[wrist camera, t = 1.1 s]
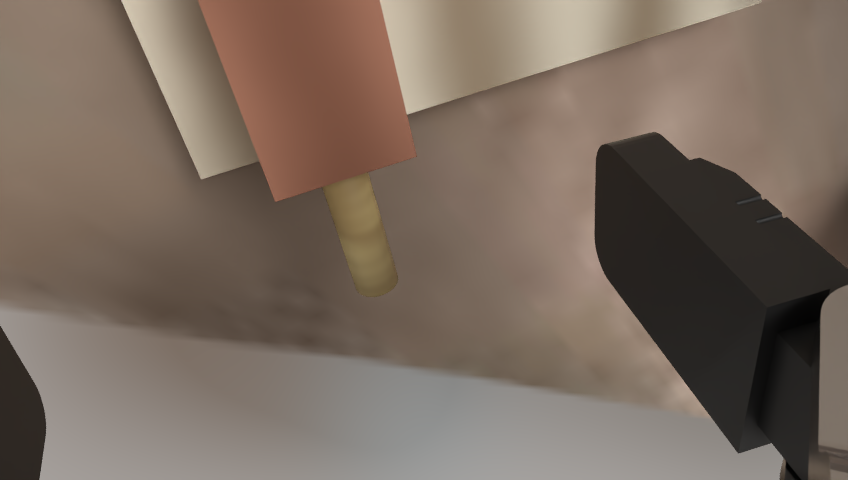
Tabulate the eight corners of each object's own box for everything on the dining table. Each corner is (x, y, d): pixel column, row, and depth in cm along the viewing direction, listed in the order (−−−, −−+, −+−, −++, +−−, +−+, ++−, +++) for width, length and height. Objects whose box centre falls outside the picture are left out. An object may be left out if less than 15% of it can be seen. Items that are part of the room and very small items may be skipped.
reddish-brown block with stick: (310, -157, 22) (353, -111, 17) (401, 191, 29) (448, 290, 25) (170, -118, 22) (174, -60, 17) (297, 225, 29) (325, 332, 24)
